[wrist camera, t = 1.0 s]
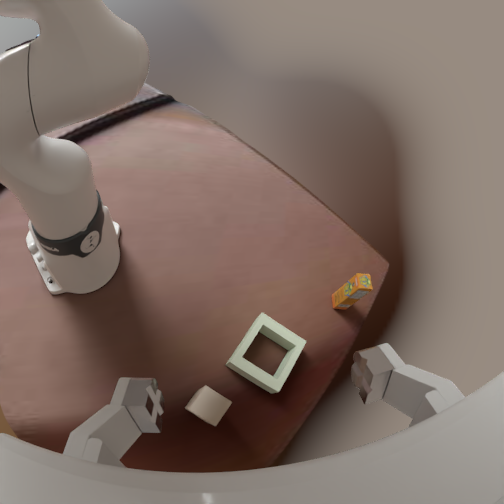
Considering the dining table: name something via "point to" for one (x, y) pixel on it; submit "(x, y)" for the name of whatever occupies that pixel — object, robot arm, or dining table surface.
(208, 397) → the peg
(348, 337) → the dining table surface
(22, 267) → the dining table surface
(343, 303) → the supplement box
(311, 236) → the dining table surface
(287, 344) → the block
